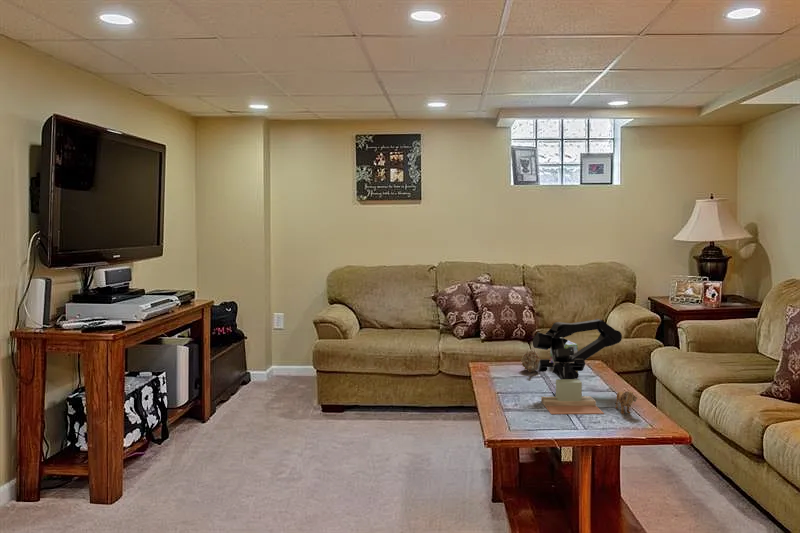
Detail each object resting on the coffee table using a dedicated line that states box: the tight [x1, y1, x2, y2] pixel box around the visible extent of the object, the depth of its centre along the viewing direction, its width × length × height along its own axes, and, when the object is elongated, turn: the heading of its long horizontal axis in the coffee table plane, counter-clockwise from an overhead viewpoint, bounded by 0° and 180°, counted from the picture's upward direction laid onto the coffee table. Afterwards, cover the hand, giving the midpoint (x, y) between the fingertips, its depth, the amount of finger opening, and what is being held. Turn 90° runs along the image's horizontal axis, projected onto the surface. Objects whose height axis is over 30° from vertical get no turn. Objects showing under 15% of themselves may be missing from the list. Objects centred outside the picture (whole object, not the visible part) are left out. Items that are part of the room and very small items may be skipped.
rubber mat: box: [545, 405, 605, 415], centre depth 236 cm, size 10×20×1 cm, turn 89°
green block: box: [555, 378, 583, 401], centre depth 243 cm, size 5×9×8 cm, turn 89°
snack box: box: [549, 337, 579, 374], centre depth 302 cm, size 21×6×15 cm, turn 10°
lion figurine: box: [614, 390, 639, 415], centre depth 235 cm, size 15×5×9 cm, turn 6°
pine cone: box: [520, 350, 541, 373], centre depth 296 cm, size 22×10×10 cm, turn 172°
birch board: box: [540, 395, 597, 408], centre depth 244 cm, size 7×20×2 cm, turn 89°
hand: (565, 382), depth 249 cm, fingers closed
